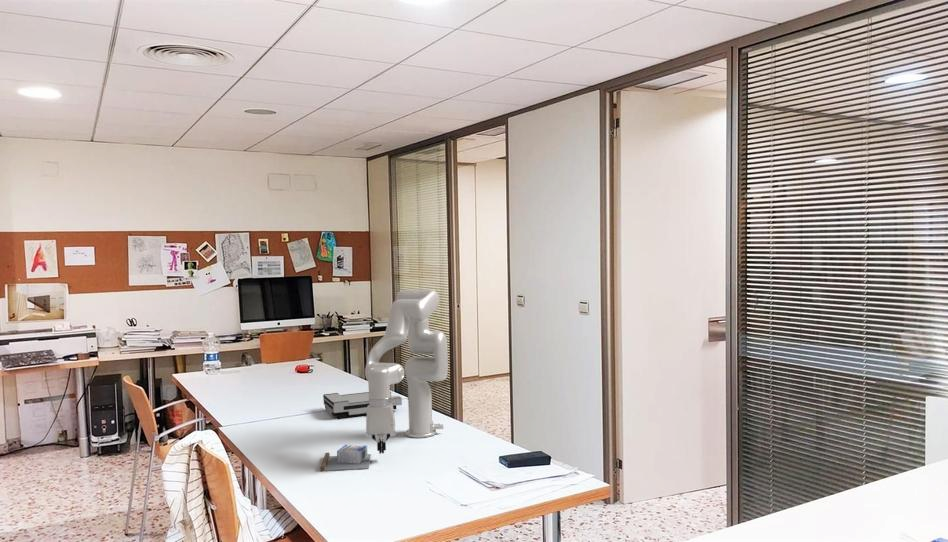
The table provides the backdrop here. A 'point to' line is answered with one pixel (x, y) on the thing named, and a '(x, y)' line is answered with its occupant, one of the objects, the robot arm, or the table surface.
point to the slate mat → (346, 464)
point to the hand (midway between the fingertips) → (381, 452)
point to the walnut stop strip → (324, 461)
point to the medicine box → (352, 454)
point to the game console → (351, 404)
